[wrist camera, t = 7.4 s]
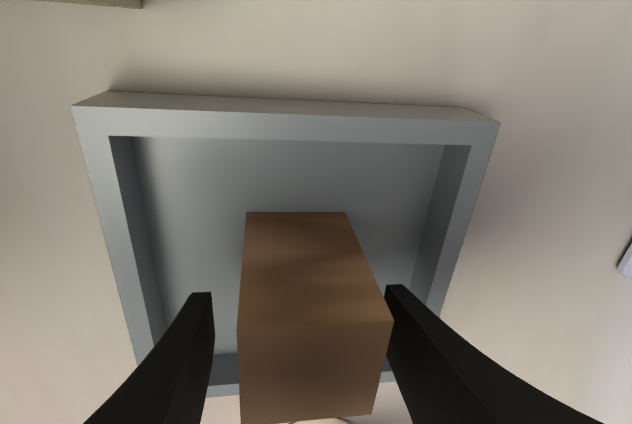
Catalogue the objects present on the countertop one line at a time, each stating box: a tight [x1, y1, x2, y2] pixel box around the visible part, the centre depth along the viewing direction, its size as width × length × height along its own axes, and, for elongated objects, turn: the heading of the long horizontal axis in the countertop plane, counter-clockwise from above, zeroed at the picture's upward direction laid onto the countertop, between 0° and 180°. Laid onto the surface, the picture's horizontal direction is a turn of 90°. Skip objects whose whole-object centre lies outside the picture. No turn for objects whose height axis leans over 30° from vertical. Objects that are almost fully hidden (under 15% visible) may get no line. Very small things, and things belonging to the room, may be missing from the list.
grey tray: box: [70, 91, 501, 398], centre depth 14 cm, size 13×13×2 cm
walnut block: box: [236, 212, 394, 424], centre depth 12 cm, size 4×4×6 cm
